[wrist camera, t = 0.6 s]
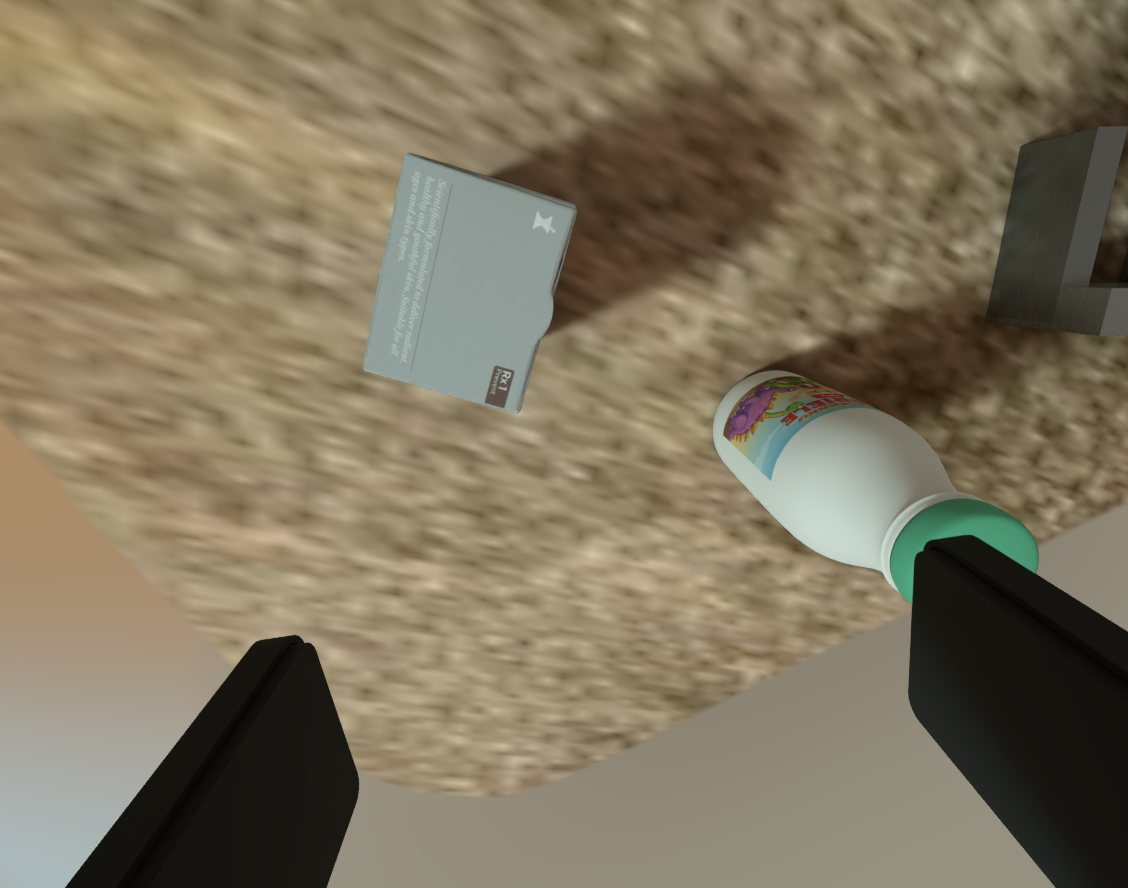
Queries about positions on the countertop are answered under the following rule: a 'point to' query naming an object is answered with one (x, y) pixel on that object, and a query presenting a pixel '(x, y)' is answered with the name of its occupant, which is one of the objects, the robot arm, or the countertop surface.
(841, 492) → the milk bottle
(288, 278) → the countertop surface
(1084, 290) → the bracket
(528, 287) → the skincare box
